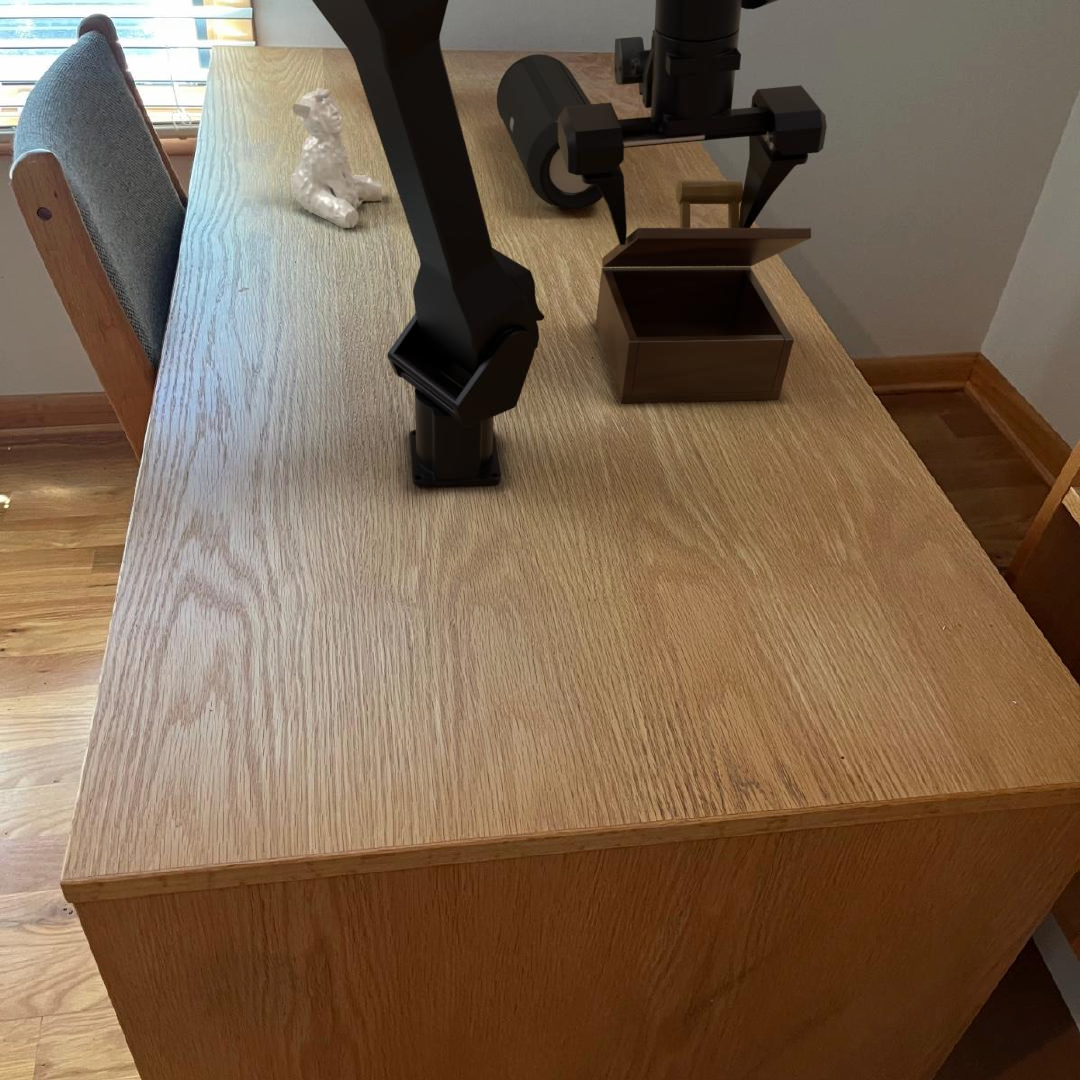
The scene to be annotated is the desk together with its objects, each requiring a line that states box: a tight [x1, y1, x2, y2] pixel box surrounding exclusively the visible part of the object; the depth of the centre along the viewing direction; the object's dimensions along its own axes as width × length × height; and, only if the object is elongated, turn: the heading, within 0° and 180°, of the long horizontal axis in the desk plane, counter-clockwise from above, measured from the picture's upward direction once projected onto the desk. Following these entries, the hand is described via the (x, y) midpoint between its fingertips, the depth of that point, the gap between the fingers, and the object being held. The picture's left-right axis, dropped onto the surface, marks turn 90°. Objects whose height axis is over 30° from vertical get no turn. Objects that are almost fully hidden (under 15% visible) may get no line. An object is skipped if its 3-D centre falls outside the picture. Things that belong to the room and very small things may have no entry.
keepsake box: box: [595, 266, 795, 404], centre depth 88 cm, size 13×14×6 cm
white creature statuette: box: [290, 87, 383, 229], centre depth 105 cm, size 10×9×12 cm
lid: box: [601, 179, 812, 268], centre depth 84 cm, size 13×14×5 cm
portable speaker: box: [496, 53, 604, 211], centre depth 117 cm, size 26×10×10 cm, turn 11°
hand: (682, 236), depth 81 cm, fingers open, 9 cm apart
